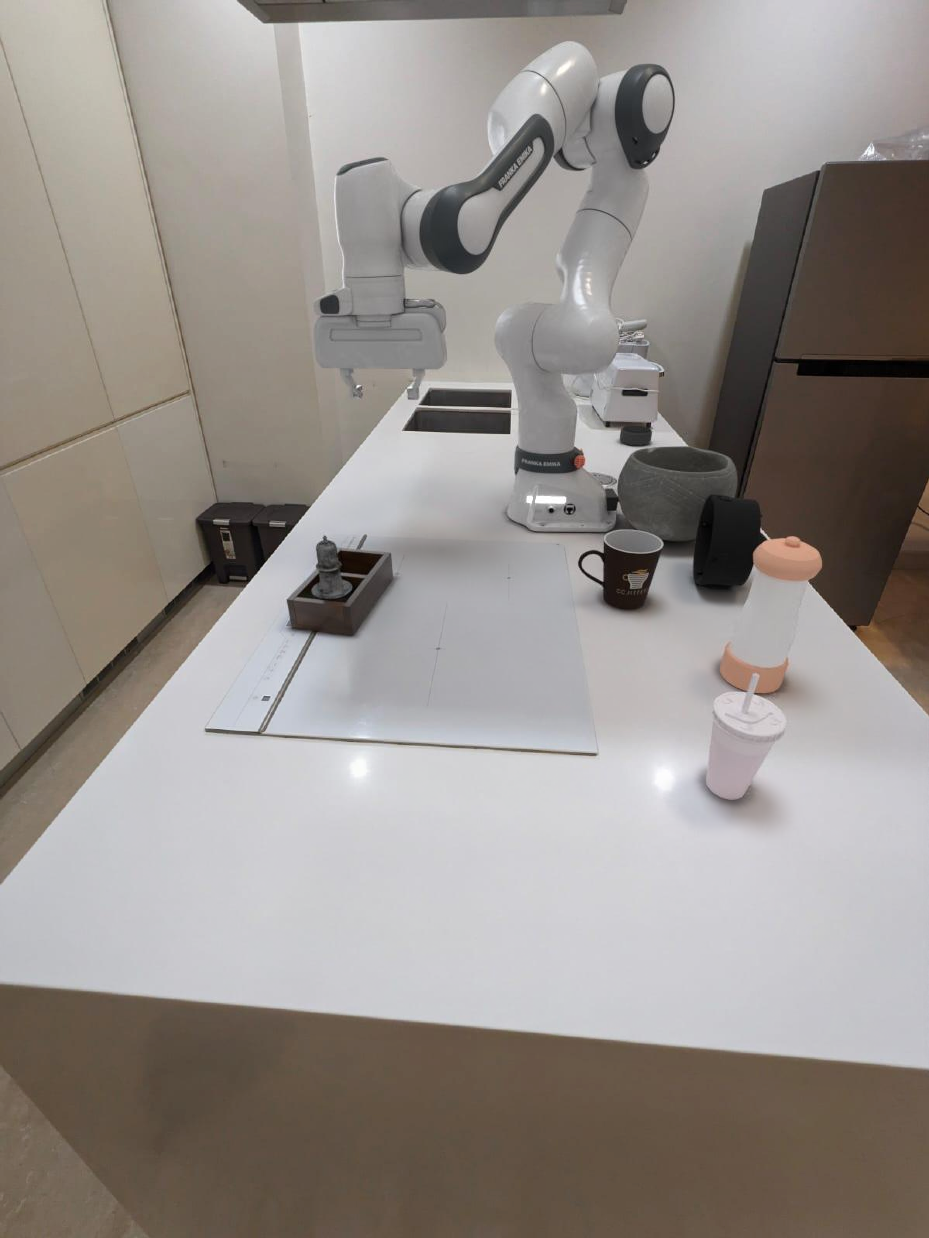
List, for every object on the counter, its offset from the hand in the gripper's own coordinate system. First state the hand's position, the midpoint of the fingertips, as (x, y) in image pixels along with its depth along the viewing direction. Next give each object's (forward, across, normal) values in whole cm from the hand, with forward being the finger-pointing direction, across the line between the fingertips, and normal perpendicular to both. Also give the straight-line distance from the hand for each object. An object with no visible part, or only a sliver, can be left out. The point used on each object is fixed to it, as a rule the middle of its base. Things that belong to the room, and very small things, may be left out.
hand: (385, 398), depth 92 cm
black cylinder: (+28, -56, +1) cm, 63 cm away
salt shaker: (+25, +3, +24) cm, 35 cm away
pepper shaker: (+27, -55, +27) cm, 67 cm away
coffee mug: (+28, -38, +10) cm, 48 cm away
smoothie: (+27, -49, +47) cm, 73 cm away
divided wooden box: (+26, +3, +19) cm, 33 cm away
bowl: (+28, -49, -18) cm, 59 cm away
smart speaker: (+30, -45, -86) cm, 102 cm away
